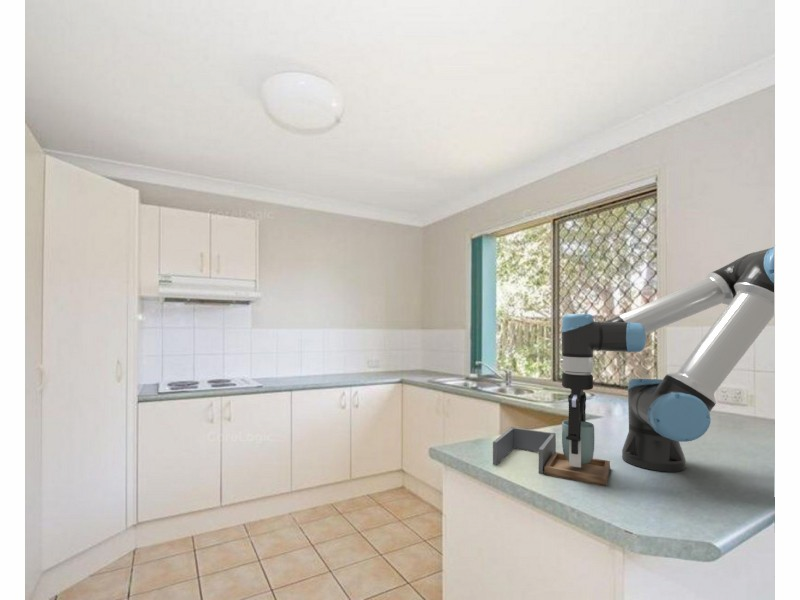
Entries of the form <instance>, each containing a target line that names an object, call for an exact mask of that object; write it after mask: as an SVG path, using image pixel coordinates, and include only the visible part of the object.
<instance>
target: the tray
mask: <svg viewBox="0 0 800 600" xmlns="http://www.w3.org/2000/svg"><path fill="white" fill-rule="evenodd" d="M610 471H611V460H606V459H599V458H595V457H593V459H592V461H591V462H590V463H589V464H586V465H581V468H579V467H574V466H569V461H568V460H567V459H566V458H565V456H564V453H563V452H554V453H553V455H552V456H551V458H550V459H549V461H548V462H547V464H546V465H545V467H544V473H543V474H544V475H545V476H548V477H553V478H554V477H555V478H560V479H565V480H571V481H576V482H581V483H586V484H592V485H597V486H601V487H607V484H608V478H609V474H610Z"/></svg>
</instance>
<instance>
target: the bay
mask: <svg viewBox="0 0 800 600" xmlns="http://www.w3.org/2000/svg"><path fill="white" fill-rule="evenodd" d="M556 434H557V433H555V432H550V431H549V432H548V431H541V430H533V429H529V428H527V429H526V428H520V427H513V426H511V427H509V428H508V429H507V430H506V431H505V432H503V433H502V434H501V435H500V436H498V437H497V438H496V439H495V440H493V441H492V465H495V466H497V465H499V463H500V462H501V461H503V460H504V458H506V457H507V455H509V454H510V453H511V452H512V451H513V450H515V449H516V450H521V451H522V450H523V451H527V450H528V451H529V452H533V451H534V452H533V453H538V474H542V475H543V474H544V467H545V465H546V464H547V462H548V461H549V459H550V458H551V456H552V455H553V453H554V452H556V451H557V449H556V448H557V446H556V443H557V440H556V437H557V436H556Z"/></svg>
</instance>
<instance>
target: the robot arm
mask: <svg viewBox="0 0 800 600" xmlns="http://www.w3.org/2000/svg"><path fill="white" fill-rule="evenodd" d="M721 304H723V305H727V306H726V308H725V309H724V310H723V311H722V312H721V314H719V317H718V318H717V319H716V321H715V322H714V323H713V325H712V326H711V327H710V328H709V330H708V331H707V332H706V334H705V335H704V336H703V338H702V339H701V340H700V342H699V343H698V344H697V345H696V347H695V348H694V350H693V351H692V352H691V353H690V355H689V356H688V357H687V359H686V360H685V361H684V363H683V364H682V365H681V367H680V368H678V369H679V370H678V371H677V372H670V373H666V375H665V376H664V377H663V378H662V379H658V378H657V379H654V378H631V379H630V380H629V381H628V387H627V398H628V399H627V400H628V401H627V402H628V405H627V406H628V432H627V436H626V439H625V441H624V444H623V447H622V450H621V453H622V454H621V457H622V460H623V461H625V462H626V463H627V464H630V465H633V466H635V467H639V468H642V469H647V470H651V471H657V472H669V473H670V472H671V473H672V472H673V473H674V472H675V473H676V472H681V471H682V472H683V471H685V469H686V468H687V460H686V456H685V454H684V452H683V448H682V446H681V443H683V442H684V443H685V442H693V441H695V440H697V439H699V438H701V437H702V436H704V435H705V434H706V433H707V431H708V429H709V428H710V425H711V421H712V419H711V415H710V414H711V413H710V412H711V411H712V409H714V408H715V406H716V404H717V400H716V397H715V393H716V391H717V390H718V389H719V388H720V386H721V385H722V384H723V383H724V381H725V380H726V378H727V377H728V376H729V374H730V373H731V372H732V371H733V370H734V368H735V367H736V366H737V364H738V363H739V362H740V360H741V359H742V358H743V357H744V355H745V354H746V353H747V351H748V350H749V348H751V346H752V345H753V344H754V343H755V341H756V339H757V338H758V337H759V336H760V335H761V333H762V332H763V330H764V329H765V328H766V327H767V325H769V323H770V322H771V320H773V318H774V316H775V315H774V246H772V247H770V248H766V249H761V250H759V251H754V252H751V253H748V254H745V255H742V256H741V257H739V258H737V259H735V260H733V261H731V262H730V263H728V264H726V265H724V266H722V267H720V268H718V269H716V270H714V271H711V272H709V273H708V274H706V278H704V279H702V280H700V281H698V282H695V283H692V284H690V285H688V286H685V287H683V288H681V289H679V290H676V291H675V292H671V293H669V294H666V295H664V296H661V297H660V298H657V299H655V300H652V301H651V302H647V303H645V304H642V305H640V306H638V307H635V308H633V309H631V310H629V311H626V312H624V313H621V314H619V315H618V316H615V317H612V318H610V319H607V320H605V321H594V317H593V315H592V314H589V313H586V314H585V313H581V314H580V313H567V314H564V316H563V317H562V320H561V321H562V324H561V325H562V327H561V353H562V354H561V358H560V359H559V362H560V363H561V368H562V369H561V370H562V371H563V373H561V386H562V388H564V389H570V394H569V395H568V397H567V398H568V399H567V403H568V419H567V420H568V437H567V436H566V439H568V440H569V466H574V467H579V468H581V438H580V432H581V421H583V422H584V421H586V419H587V418H586V407H587V406H586V402H587V394H586V392H585V391H589V390H592V389H593V388H594V376H593V374H592V373H593V372H594V351H598V352H599V351H600V352H601V351H602V352H603V351H604V352H624V353H625V352H626V353H634V352H635V353H637V352H638V353H640V352H642V351H643V350H644V349H645V347H646V343H647V334H648V333H651V332H654V331H657V330H658V329H661V328H664V327H666V326H669V325H671V324H674V323H676V322H679V321H681V320H683V319H686V318H688V317H691V316H693V315H696V314H699V313H701V312H703V311H706V310H709V309H711V308H713V307H716V306H719V305H721ZM586 422H587V421H586ZM573 434H576V435H573ZM680 442H681V443H680Z"/></svg>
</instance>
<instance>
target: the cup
mask: <svg viewBox="0 0 800 600" xmlns="http://www.w3.org/2000/svg"><path fill="white" fill-rule="evenodd" d="M568 420H569V419H566V420H562V421H561V446H562V451H563V452H562V453H563V454H564V456H565V458H566V459H567V460H568V461H569V440H568V439H566V436H567V437H568ZM573 435H576V434H573ZM595 437H596V436H595V425H594V424H593V423H592V422H589V421H584V422H583V421H581V432H580V438H581V465H586V464H589V463H590V462H591V461H592V459H593V458H594V454H595V441H596V439H595Z"/></svg>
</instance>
